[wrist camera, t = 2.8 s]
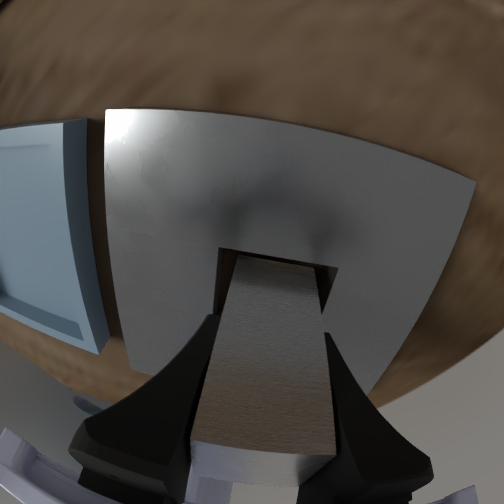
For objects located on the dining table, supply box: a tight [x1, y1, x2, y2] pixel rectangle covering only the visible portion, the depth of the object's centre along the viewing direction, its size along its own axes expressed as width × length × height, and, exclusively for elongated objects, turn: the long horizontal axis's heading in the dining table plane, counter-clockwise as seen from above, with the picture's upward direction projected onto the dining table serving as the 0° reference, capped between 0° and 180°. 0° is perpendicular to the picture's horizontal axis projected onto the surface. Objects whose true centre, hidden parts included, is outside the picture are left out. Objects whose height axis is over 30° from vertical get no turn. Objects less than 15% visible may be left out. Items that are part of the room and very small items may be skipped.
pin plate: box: [104, 107, 476, 396], centre depth 14 cm, size 16×16×2 cm
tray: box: [0, 118, 110, 355], centre depth 14 cm, size 15×13×2 cm
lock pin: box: [190, 255, 336, 487], centre depth 10 cm, size 4×4×9 cm
